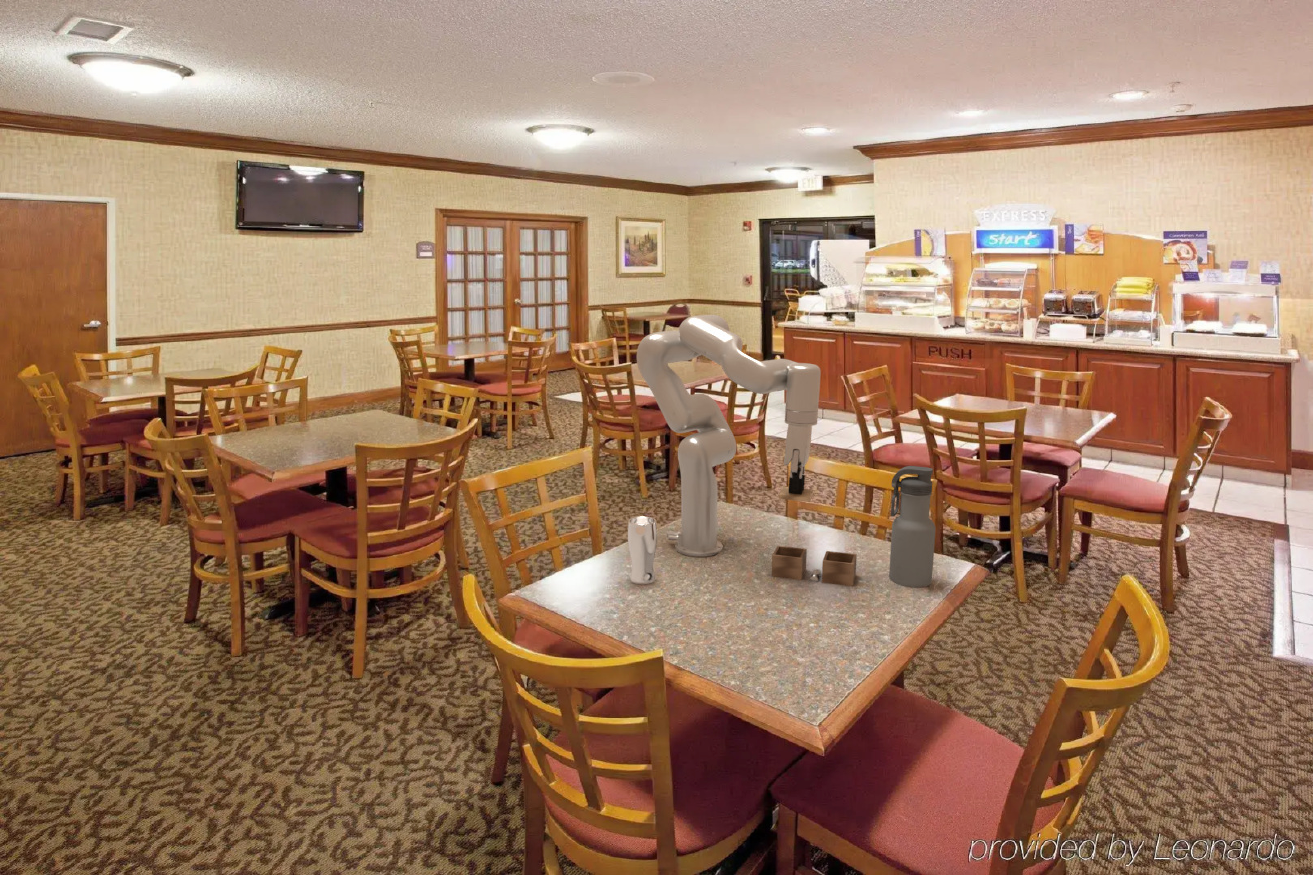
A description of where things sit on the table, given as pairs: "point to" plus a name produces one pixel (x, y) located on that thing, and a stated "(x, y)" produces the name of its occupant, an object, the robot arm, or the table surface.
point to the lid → (796, 495)
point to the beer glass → (642, 548)
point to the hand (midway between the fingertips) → (796, 491)
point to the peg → (815, 575)
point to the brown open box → (789, 562)
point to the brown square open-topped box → (839, 568)
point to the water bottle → (912, 529)
